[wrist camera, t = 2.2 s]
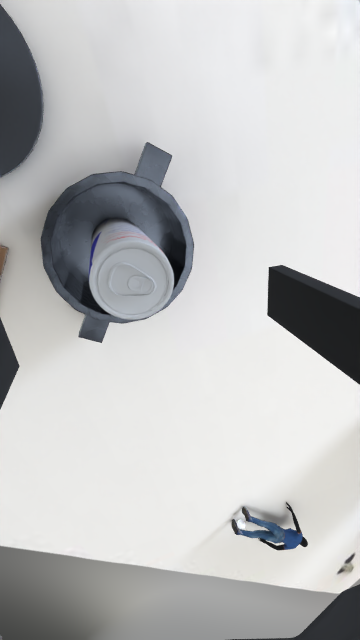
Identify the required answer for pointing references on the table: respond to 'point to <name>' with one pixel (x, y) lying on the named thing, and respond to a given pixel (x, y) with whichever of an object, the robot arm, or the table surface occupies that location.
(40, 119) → the lid
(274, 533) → the person figurine
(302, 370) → the table surface
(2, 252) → the cork mat
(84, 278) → the pot
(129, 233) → the beverage can
